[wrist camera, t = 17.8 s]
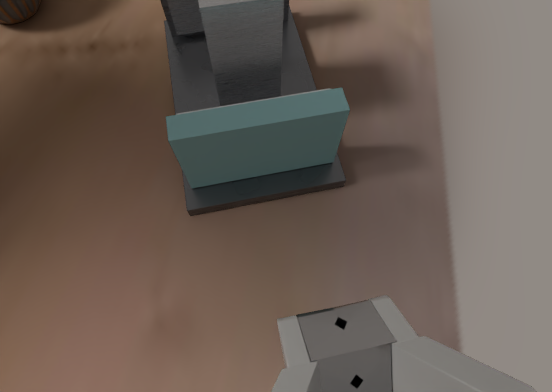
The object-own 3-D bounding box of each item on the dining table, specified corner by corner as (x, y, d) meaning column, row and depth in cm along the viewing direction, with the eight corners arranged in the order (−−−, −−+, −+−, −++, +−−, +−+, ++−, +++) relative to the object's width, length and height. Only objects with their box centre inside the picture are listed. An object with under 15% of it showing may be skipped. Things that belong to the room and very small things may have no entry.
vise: (343, 186, 26) (367, 130, 19) (190, 215, 25) (161, 167, 18) (287, 12, 33) (291, -70, 26) (167, 30, 32) (140, -52, 25)
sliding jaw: (333, 162, 25) (350, 109, 20) (191, 188, 24) (168, 141, 19) (325, 138, 26) (339, 81, 21) (188, 163, 25) (165, 110, 20)
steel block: (213, 69, 29) (189, -46, 20) (268, 60, 29) (266, -56, 21) (222, 114, 27) (199, 8, 19) (280, 104, 27) (283, -4, 19)
